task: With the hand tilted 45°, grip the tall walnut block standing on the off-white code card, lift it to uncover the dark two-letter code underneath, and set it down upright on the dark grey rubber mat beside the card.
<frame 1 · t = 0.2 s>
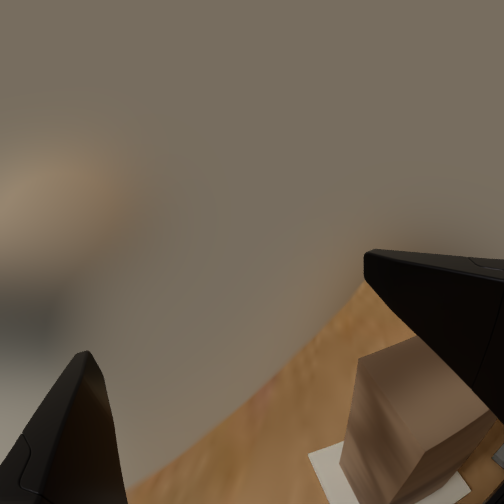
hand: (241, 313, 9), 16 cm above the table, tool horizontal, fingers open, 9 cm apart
walnut block: (391, 477, 16), resting on code card
code card: (390, 478, 16), on the table
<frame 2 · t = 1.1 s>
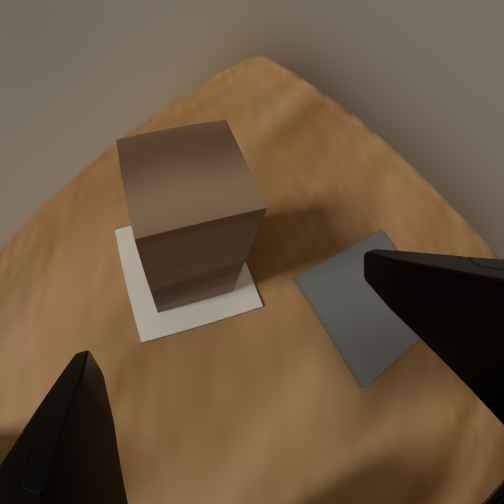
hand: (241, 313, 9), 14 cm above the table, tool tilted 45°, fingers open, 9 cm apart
walnut block: (184, 266, 24), resting on code card
rubber mat: (373, 302, 25), on the table
code card: (184, 268, 24), on the table
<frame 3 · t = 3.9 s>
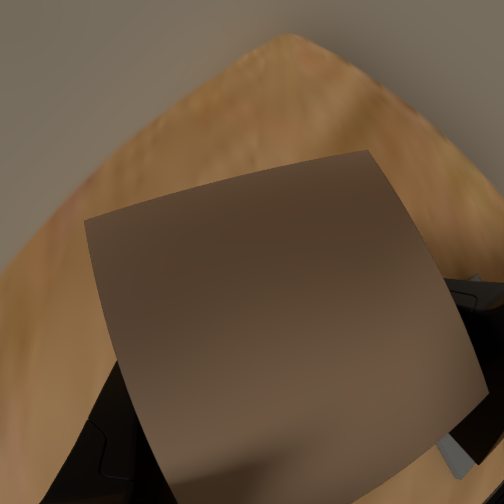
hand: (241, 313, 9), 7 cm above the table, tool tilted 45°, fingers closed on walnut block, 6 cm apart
walnut block: (235, 370, 15), resting on code card, touching gripper
rubber mat: (471, 375, 16), on the table
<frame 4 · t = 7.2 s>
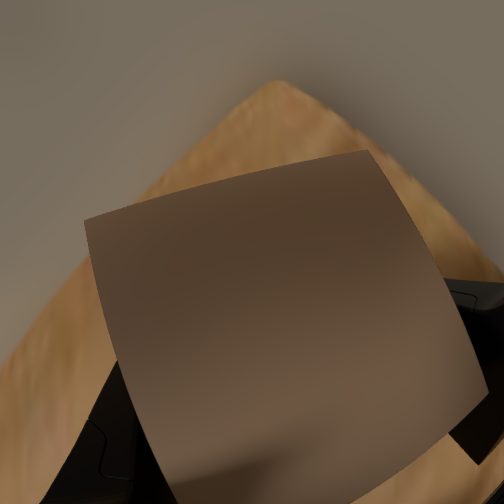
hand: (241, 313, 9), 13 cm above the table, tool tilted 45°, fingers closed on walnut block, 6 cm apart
walnut block: (235, 370, 15), point 7 cm above the table, touching gripper
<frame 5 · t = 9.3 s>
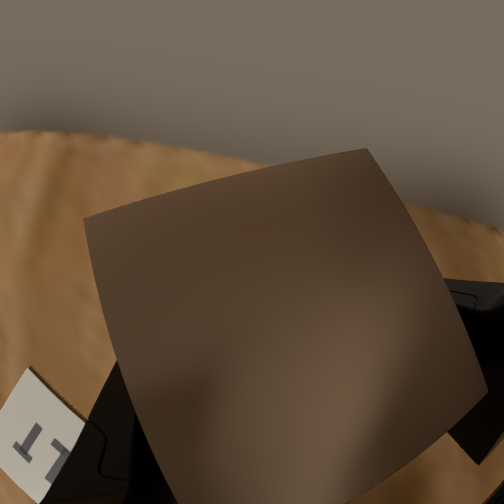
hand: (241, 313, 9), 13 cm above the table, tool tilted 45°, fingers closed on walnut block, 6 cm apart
walnut block: (234, 369, 15), point 7 cm above the table, touching gripper
code card: (42, 451, 16), on the table
when the fingers open (8 cm above the table, at t = 10.8 s): walnut block drops 2 cm, resting on rubber mat.
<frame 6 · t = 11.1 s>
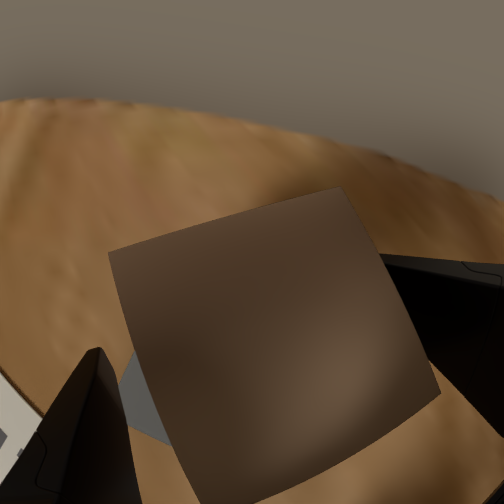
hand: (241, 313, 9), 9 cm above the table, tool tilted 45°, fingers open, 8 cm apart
walnut block: (232, 370, 16), point 1 cm above the table, touching rubber mat
rubber mat: (230, 372, 17), on the table
code card: (8, 462, 12), on the table
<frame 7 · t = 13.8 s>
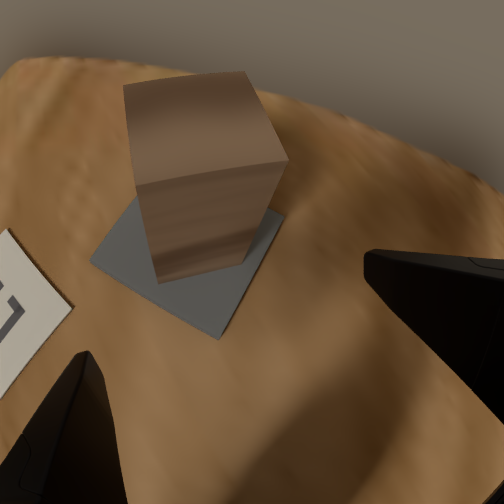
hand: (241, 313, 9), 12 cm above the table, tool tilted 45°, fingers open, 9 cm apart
walnut block: (189, 235, 22), point 1 cm above the table, touching rubber mat
rubber mat: (189, 240, 22), on the table
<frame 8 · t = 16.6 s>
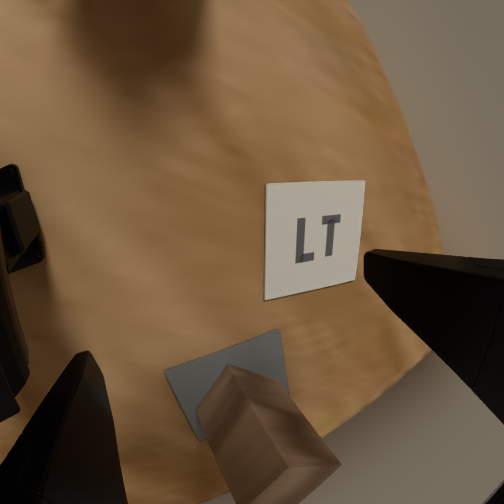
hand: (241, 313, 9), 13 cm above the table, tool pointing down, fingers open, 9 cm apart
walnut block: (236, 394, 27), point 1 cm above the table, touching rubber mat
rubber mat: (233, 389, 28), on the table
code card: (316, 237, 26), on the table
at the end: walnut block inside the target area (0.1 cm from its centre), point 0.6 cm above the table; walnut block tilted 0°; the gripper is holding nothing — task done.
